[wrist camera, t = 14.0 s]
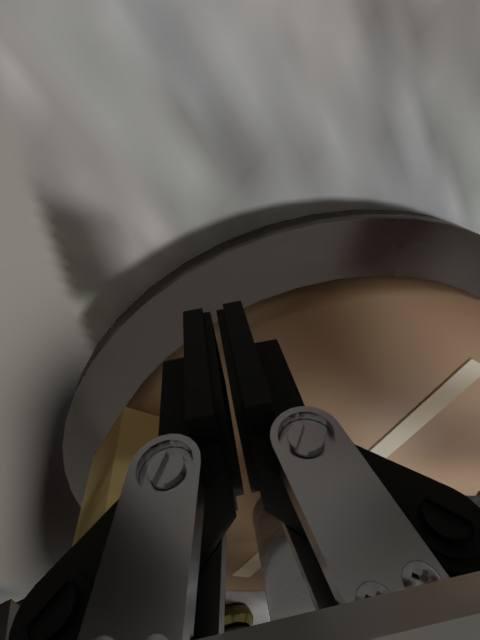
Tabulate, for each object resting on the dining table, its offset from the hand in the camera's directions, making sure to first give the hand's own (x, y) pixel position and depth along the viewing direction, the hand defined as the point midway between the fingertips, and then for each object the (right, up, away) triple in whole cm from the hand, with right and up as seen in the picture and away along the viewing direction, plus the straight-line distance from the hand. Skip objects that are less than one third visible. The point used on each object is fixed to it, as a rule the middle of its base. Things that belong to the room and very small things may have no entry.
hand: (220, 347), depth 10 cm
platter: (+5, -7, +8) cm, 12 cm away
